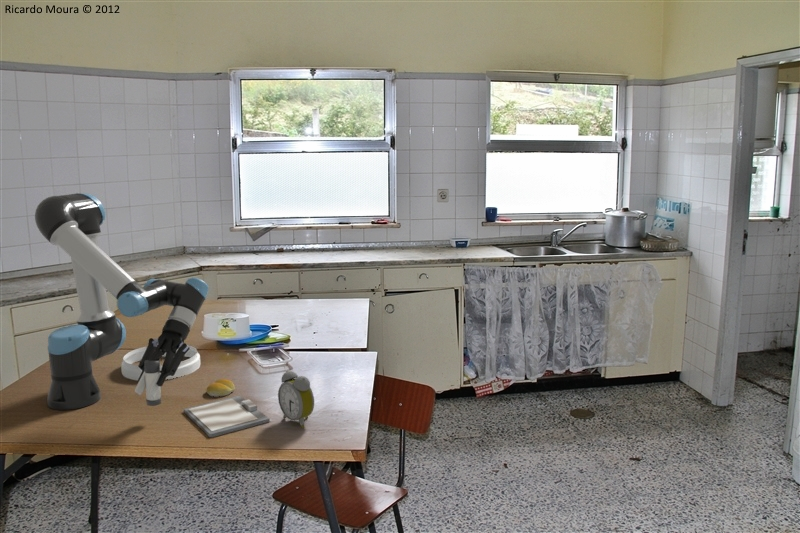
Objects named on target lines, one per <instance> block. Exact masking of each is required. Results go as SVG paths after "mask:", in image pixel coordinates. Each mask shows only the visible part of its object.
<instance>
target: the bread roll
mask: <svg viewBox="0 0 800 533" xmlns="http://www.w3.org/2000/svg"><path fill="white" fill-rule="evenodd" d="M235 390H236V386H235V384H234V383H233V381H231V380H230V379H225V378H221V379H220V378H219V379H217V380H216V381H215V382H214V383H210V384H209V385H208V386H207V387H206V390H205V391H206V393H207V395H209V396H210V397H213V396H214V397H215V398H216V397H217V398H218V397H219V396H220V397H226V396H228V395H230V394H232V393H233V392H234V391H235ZM231 392H232V393H231Z"/></svg>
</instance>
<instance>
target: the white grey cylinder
mask: <svg viewBox="0 0 800 533" xmlns="http://www.w3.org/2000/svg"><path fill="white" fill-rule="evenodd" d="M160 361H161V360H160V359H148V360H145V361H144V367H145V380H146V387H145V394H146V395H145V396H146V397H145V399H146V406H150V407H155V406H159V405H161V404H162V392H161V389H162V388H161V386H160V387H159V389H158V391H157V393H156V396H155V398H153V397H151V396H150V395H149V394H148V391H149V389H150V387H151V385H152V383H153V381H154V379H155V377H156V375H157V373H160V372H159V371H160V365H161V362H160Z"/></svg>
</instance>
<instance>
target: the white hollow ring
mask: <svg viewBox="0 0 800 533" xmlns="http://www.w3.org/2000/svg"><path fill="white" fill-rule="evenodd" d="M187 345H188V344H187ZM147 347H148V345H147V346H142V347H140V348H139V347H138V348H135V349H133V350H131V351H129V352H127V353H126V354H125V355H124V356H123V358H122V359H123V360H122V361H121V364H120V366H121V374H122V376H123V377H124V378H126V379H129V380H133V381H138V379H139V377H140V375H141V373H142V370H141V369H140V368H139V367H138V366H139V364H138V365H137V364H135V363H137V362H140V361H141V359H142V357H143V355H144V353H145V351H146V349H147ZM188 347H189V348H190V349H189V350H188V351H187V352H186V354H185V355H184V357H185V358H187V357H188V358H187V359H185V360H182V361H181V363H180V365H179V367H178V369H177V370H176V372H175V374H174V376H171V375H170V376H168V377H166V379H165V381H166V380H167V379H168V380H174V379H177V378H176V377H178V378H181V376H182V377H184V375H185V376H187V375H191V374H192V373H195V372H197V370H198V369H199V368H200V367H201V355H200V353H199V352H198V349H197V348H196V347H194V346H191V345H188ZM178 349H179V348H178ZM178 349H177V350H178ZM160 350H161V349H160ZM161 351H162V350H161ZM176 352H177V351H176ZM165 356H166V353H165V354H164V355H162V357H165ZM162 366H163V364H160V371H161V369H162ZM160 374H161V373H160ZM173 378H174V379H173Z"/></svg>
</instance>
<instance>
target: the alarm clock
mask: <svg viewBox="0 0 800 533" xmlns="http://www.w3.org/2000/svg"><path fill="white" fill-rule="evenodd" d="M280 380H281V384H280V386H279V387H278V388H279V389H278V391H277V397H278V405H279V407H280V410H281V411H282V414H283V417H282V418H283V419H285V420H286V419H289V421H290V420H291V421H298V422H299V424H300V427H301V428H302V429H305V419H306V420H308V419H309V416H310V415H311V414H312V413H313V411H314V408H315V396H314V393H313V390H312V388H311V381H310V380H309V378H308V377H306V376H303V375H300V376H298V374H297V373H296V372H294V371H293V370H292V371H291V370H286V371H285V372H284V373H283V374H282V376H281V379H280Z"/></svg>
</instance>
